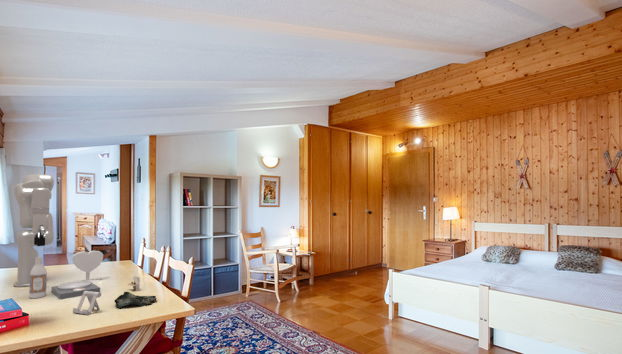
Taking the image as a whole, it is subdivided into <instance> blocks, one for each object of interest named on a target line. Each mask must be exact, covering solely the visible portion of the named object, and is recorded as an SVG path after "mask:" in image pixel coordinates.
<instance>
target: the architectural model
mask: <svg viewBox="0 0 622 354" xmlns="http://www.w3.org/2000/svg"><path fill="white" fill-rule="evenodd" d="M132 278H133V281H131V282H129V283H127V284H126V285H128V286H131V287H132V288H133V291H134V292H139V291H140V282H141V281H140V279H141V278H140V277H138V276H133V277H132Z"/></svg>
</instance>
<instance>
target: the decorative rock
mask: <svg viewBox="0 0 622 354" xmlns="http://www.w3.org/2000/svg"><path fill="white" fill-rule="evenodd" d="M156 300H157V298H156V295H135V294H134V293H131V292H130V291H124V292H123V293H122V294H120V295H119V296H117V298H115V299H114V303H115V305H116V306H115V307H116V309H117V310H120V309H122V308H123V307H127V306H129V305H132V306H133V305H135V306H136V305H137V306H140V307H142V308H143V307H146V306H147V305H150V304H152V303H153V302H155V301H156Z"/></svg>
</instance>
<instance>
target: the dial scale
mask: <svg viewBox="0 0 622 354" xmlns="http://www.w3.org/2000/svg"><path fill="white" fill-rule="evenodd" d="M84 291H92V292H100V293H101V287H100V286H98V285H97V284H95V283H93V282H90V281H84V280H79V281H76V280H75V281H70V282H69V281H68V282H65V283H64V282H63V283H61V284H58V285H54V286H51V293H53V294H54V296H55V297H56V298H58V299H59V300H63V299H69V298H75V297H76V298H77V297H82V295H83V292H84Z"/></svg>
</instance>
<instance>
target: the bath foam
mask: <svg viewBox="0 0 622 354" xmlns="http://www.w3.org/2000/svg"><path fill="white" fill-rule="evenodd" d="M47 275H48V272H47V269H46V267H45V265H44V264H43V256H38V257H36V258H35V266H34V267H33V268H32V270H31V272H30V286H29V290H28V291H29V293H28V294H29V298H30V299H41V298H44V297H46V296H47V280H48V279H47V277H48V276H47Z"/></svg>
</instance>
